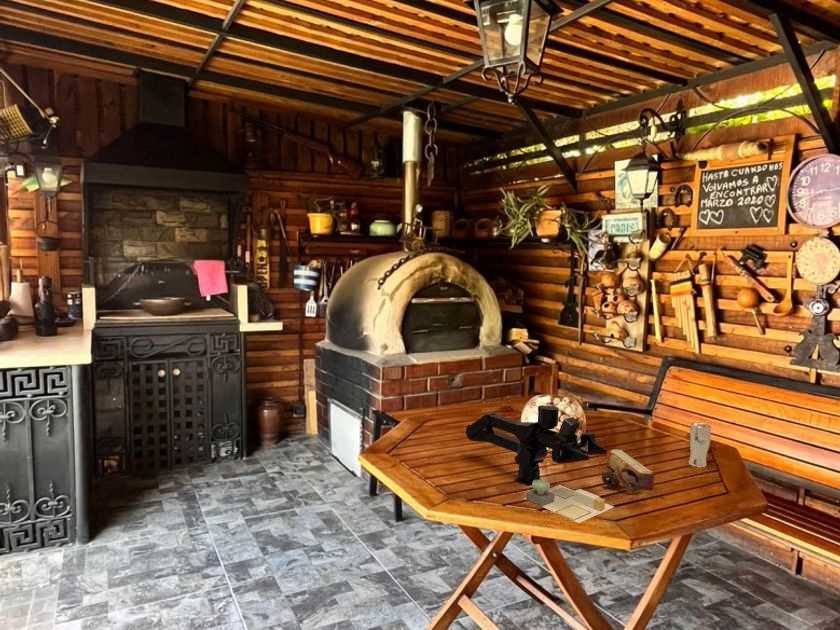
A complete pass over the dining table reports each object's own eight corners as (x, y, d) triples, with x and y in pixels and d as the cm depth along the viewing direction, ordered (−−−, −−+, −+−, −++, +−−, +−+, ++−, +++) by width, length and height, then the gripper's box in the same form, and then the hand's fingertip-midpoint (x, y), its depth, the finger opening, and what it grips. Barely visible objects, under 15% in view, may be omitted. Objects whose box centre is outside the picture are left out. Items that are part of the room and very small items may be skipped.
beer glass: (684, 464, 215) (687, 424, 214) (690, 459, 221) (694, 421, 219) (704, 469, 211) (708, 429, 209) (710, 464, 216) (714, 425, 214)
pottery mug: (624, 484, 196) (637, 467, 192) (633, 507, 188) (647, 490, 184) (593, 476, 194) (605, 459, 190) (600, 499, 186) (613, 482, 182)
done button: (528, 496, 178) (528, 482, 177) (539, 492, 181) (539, 478, 181) (541, 502, 174) (542, 487, 173) (552, 498, 177) (553, 483, 177)
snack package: (655, 490, 191) (656, 470, 190) (636, 491, 190) (638, 470, 189) (622, 466, 212) (623, 448, 211) (605, 466, 211) (606, 448, 210)
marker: (573, 500, 179) (574, 491, 178) (579, 498, 180) (579, 488, 180) (599, 511, 172) (599, 501, 171) (604, 508, 174) (605, 498, 173)
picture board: (523, 500, 179) (523, 498, 179) (559, 486, 190) (559, 484, 190) (578, 525, 164) (578, 522, 164) (614, 508, 175) (614, 506, 175)
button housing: (525, 501, 178) (526, 491, 178) (538, 496, 182) (539, 487, 182) (541, 508, 174) (542, 498, 173) (554, 503, 177) (554, 493, 177)
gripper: (537, 420, 178) (581, 434, 166) (574, 411, 190) (617, 423, 178) (535, 456, 179) (578, 472, 167) (572, 444, 191) (614, 458, 179)
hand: (598, 455), depth 173 cm, fingers open, 9 cm apart
